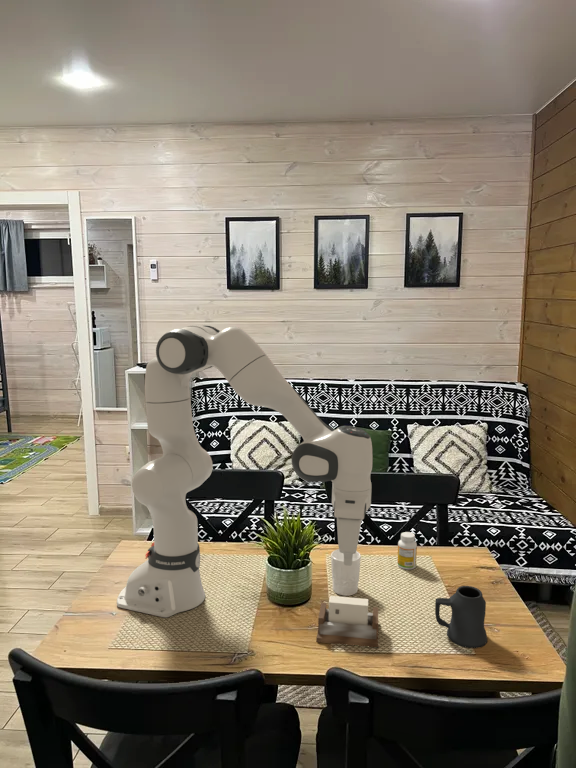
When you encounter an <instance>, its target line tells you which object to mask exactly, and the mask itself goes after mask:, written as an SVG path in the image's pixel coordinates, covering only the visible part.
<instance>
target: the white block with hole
mask: <svg viewBox="0 0 576 768" xmlns="http://www.w3.org/2000/svg"><path fill="white" fill-rule="evenodd" d="M328 609H329V622H334V623H345V624H356V625H366V626H368V613H369V599H368V598H359V597H348V596H340V595H339V596H337V595H330V596H329V600H328Z"/></svg>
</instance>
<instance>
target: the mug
mask: <svg viewBox="0 0 576 768" xmlns="http://www.w3.org/2000/svg"><path fill="white" fill-rule="evenodd" d="M434 603H435V604H434V605H435V606H434V609H435V612H434V613H435V621H436V622H437V624H438V625H440V627H445V628H446V629H447V631H446V636H447V638H448V639H449V641H451V642H452V643H453V644H455V645H456V646H459V647H462V648H467V649H478V648H483V647H484V646H486V644H487V643H488V636H487V631H486V628H485V619H486V618H485V617H486V609H487V608H486V607H487V600H486V599H485V598H484V596H483V592H482V591H481V590H480V588H477V587H475V586H471V585H461V586H458V587H457V588H456V590H455V593H453V594H452V595H451V596H450V597H439V598H437V597H436V598H435V602H434ZM441 606H446V607H450V609H451V617H450V622H449V623H448V622H447V621H445V620H444V619H442V618H441V616H440V610H441Z"/></svg>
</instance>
